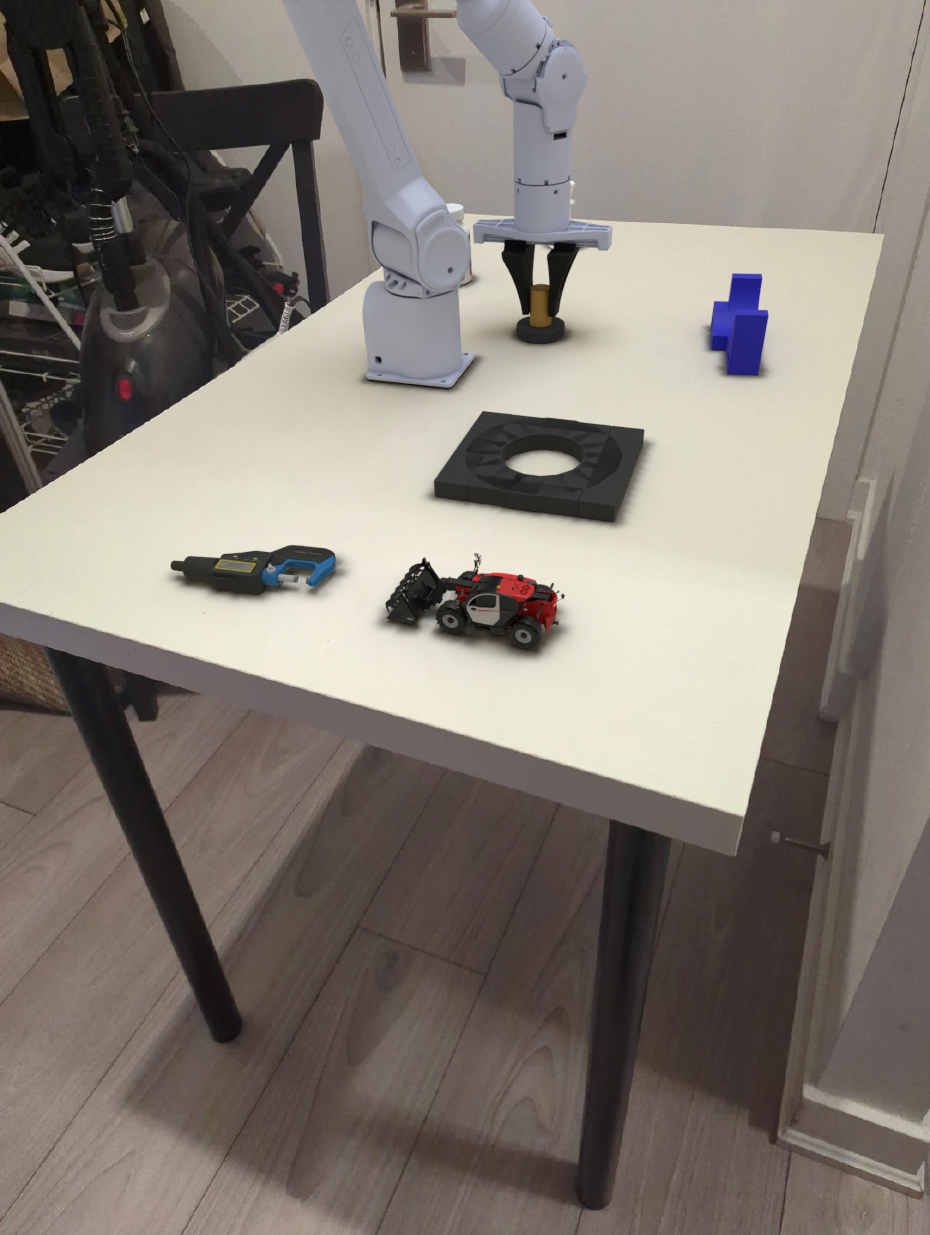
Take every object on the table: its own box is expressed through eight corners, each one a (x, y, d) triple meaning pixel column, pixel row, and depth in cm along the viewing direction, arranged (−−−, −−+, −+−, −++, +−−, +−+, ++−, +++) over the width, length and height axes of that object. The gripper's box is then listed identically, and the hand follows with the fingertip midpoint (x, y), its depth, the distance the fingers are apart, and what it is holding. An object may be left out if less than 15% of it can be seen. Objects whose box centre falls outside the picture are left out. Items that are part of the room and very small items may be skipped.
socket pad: (434, 497, 72) (432, 481, 71) (483, 424, 82) (483, 410, 81) (613, 523, 68) (614, 506, 67) (643, 443, 77) (645, 428, 77)
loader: (385, 622, 60) (378, 567, 57) (412, 583, 63) (406, 529, 60) (554, 658, 56) (555, 601, 53) (573, 615, 59) (575, 559, 56)
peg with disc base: (510, 341, 97) (509, 294, 93) (524, 323, 101) (523, 277, 97) (557, 345, 95) (559, 297, 92) (569, 327, 99) (571, 280, 96)
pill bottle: (447, 271, 116) (443, 199, 110) (479, 277, 114) (477, 204, 108) (423, 283, 113) (417, 210, 107) (455, 290, 110) (452, 215, 105)
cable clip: (710, 328, 97) (717, 273, 93) (752, 329, 96) (761, 274, 92) (711, 373, 88) (720, 314, 84) (758, 375, 87) (768, 315, 83)
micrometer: (339, 543, 64) (316, 584, 61) (342, 564, 66) (319, 605, 62) (192, 527, 67) (160, 565, 63) (197, 547, 68) (167, 586, 64)
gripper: (621, 171, 89) (613, 304, 97) (486, 167, 93) (489, 295, 101) (607, 189, 84) (599, 328, 92) (464, 184, 88) (470, 317, 96)
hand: (540, 312), depth 96 cm, fingers closed on peg with disc base, 2 cm apart
